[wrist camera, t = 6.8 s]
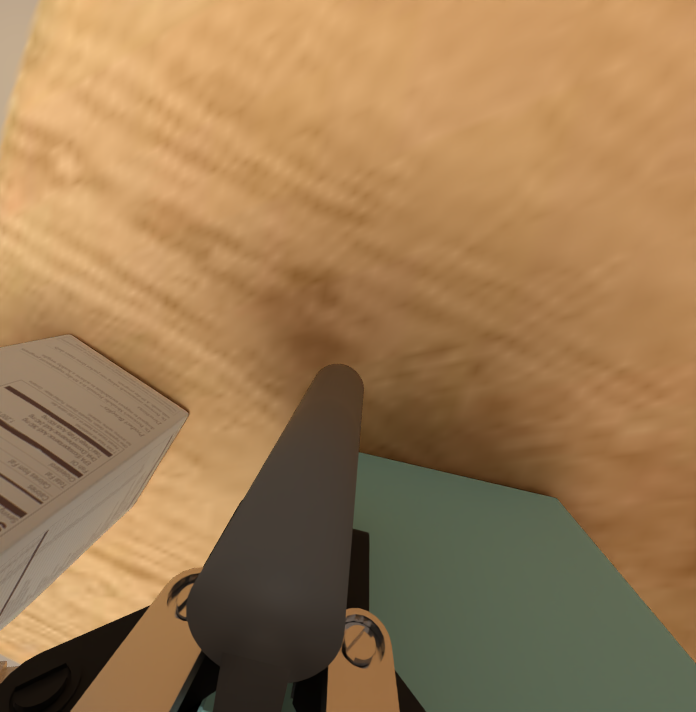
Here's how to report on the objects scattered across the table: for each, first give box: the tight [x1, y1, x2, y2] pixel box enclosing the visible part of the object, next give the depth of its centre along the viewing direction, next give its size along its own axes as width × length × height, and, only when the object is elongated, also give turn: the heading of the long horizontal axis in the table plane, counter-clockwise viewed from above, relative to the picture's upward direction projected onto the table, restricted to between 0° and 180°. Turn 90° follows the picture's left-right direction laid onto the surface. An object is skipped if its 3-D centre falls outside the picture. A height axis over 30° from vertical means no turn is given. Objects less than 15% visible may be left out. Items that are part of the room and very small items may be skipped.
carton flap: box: [186, 364, 696, 712], centre depth 13 cm, size 16×8×16 cm, turn 78°
